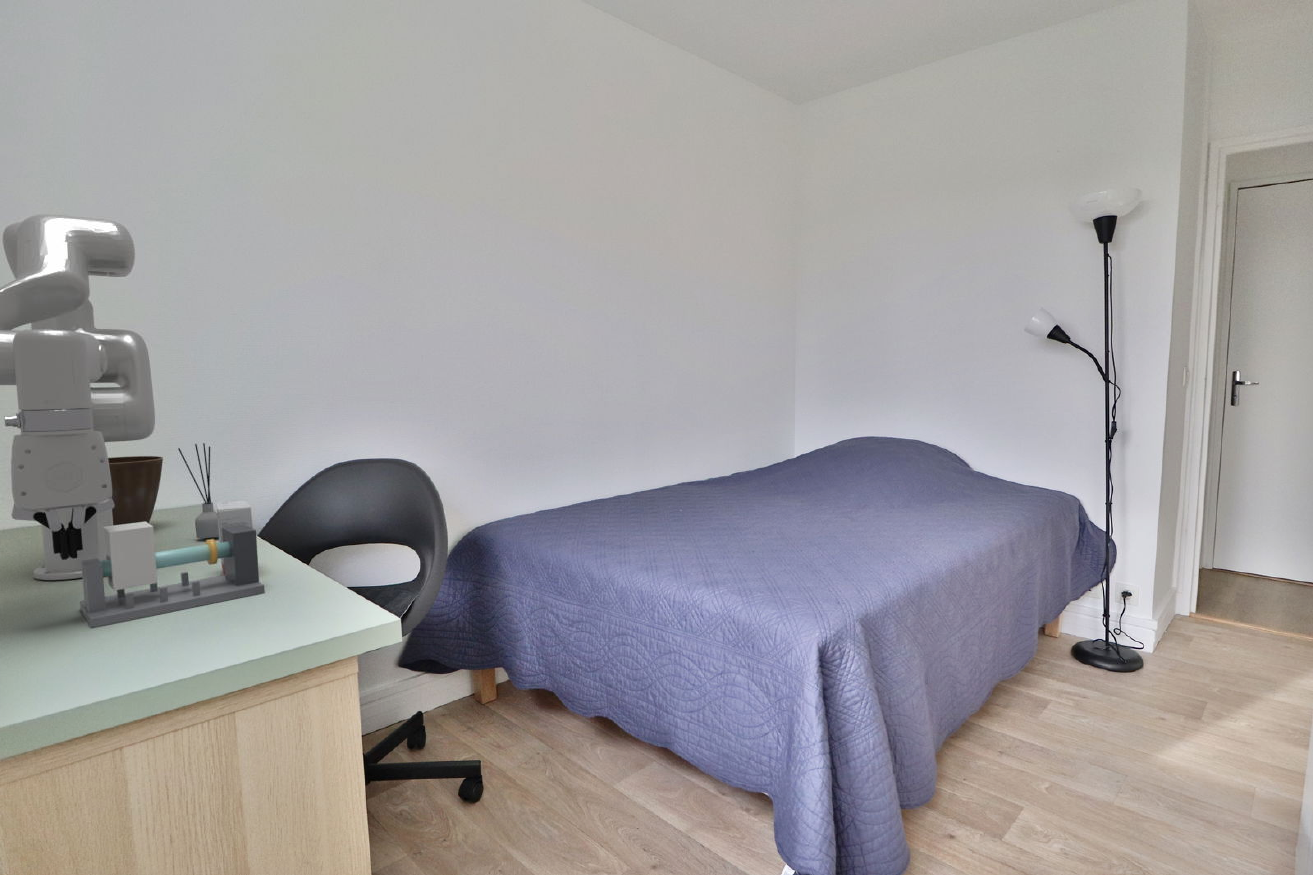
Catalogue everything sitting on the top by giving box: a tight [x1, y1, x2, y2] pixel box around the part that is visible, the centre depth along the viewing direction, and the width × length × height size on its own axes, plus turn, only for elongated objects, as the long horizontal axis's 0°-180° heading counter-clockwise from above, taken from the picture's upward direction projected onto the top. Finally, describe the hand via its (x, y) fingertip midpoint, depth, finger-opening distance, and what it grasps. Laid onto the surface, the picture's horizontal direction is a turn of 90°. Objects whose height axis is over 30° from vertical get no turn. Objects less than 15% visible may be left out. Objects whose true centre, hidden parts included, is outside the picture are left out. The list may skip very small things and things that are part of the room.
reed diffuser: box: [177, 442, 219, 539], centre depth 146 cm, size 10×7×20 cm
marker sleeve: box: [103, 522, 158, 591], centre depth 102 cm, size 5×5×8 cm
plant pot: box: [108, 455, 164, 526], centre depth 154 cm, size 15×15×16 cm
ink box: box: [215, 500, 254, 575], centre depth 120 cm, size 9×5×12 cm, turn 33°
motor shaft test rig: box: [79, 525, 265, 628], centre depth 105 cm, size 21×11×9 cm, turn 135°
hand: (68, 557), depth 97 cm, fingers closed
